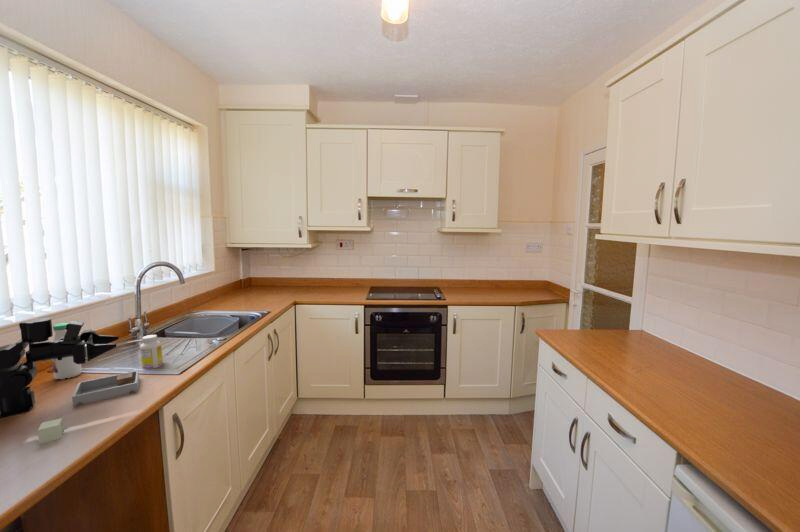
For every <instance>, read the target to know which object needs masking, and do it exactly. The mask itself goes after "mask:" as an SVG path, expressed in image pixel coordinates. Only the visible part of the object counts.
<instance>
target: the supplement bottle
mask: <svg viewBox="0 0 800 532" xmlns="http://www.w3.org/2000/svg"><path fill="white" fill-rule="evenodd" d="M141 341H142V343H141V344H140V348H139V349H140V358H141V368H142V369H144V370H152V369H156V368H159V367H161V366H162V365H163V364H164V360H163V351H162V343H161V342H160V341H159V340H158V335H157V334H147V335H145V336H142V340H141Z"/></svg>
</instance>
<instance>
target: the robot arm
mask: <svg viewBox="0 0 800 532" xmlns="http://www.w3.org/2000/svg"><path fill="white" fill-rule="evenodd" d="M66 323H67V326H66V328H65V329H66V330H67V331H66V334H65V336H64V337H62V338H60V339H59V340H57V341H53V340H52V341H49V338H51V337H54V335H53V332H54V331H53V323H52V317H39V318H34V319H30V320H25V321H24V320H23V321H21V322H20V323H18V324H19V325H18V326H19V330H20V335H21V338H20V339H19V340H18V341H17V342H16V343H10V344H6V345H2V346H0V418H5V417H8V416H9V417H10V416H14V415H18V414H22V413H27V412H30V410H32V408H33V407H34V405H35V404H36V399H35V391H34V390H31V389H32V388H31V386H29V385H30V384H31V383H32V382H33V380H34V379H35V377H36V376H37V374H38V369H37V367H36V366H37V363H38V362H44V361H50V360H51V359H58V360H62V359H63V358H65V357H72V356H73V362H74V363H76V364H81V365H83V364H86V363H87V362H89V361H92V360H94V359H95V358H97V357H99V356H101V355H103V354H105V353H107V352H110V351H111V350H113V349H115V348H117V347H118V346H117V343H113V342H115V341H117V340H119V336H118V335H107V334H99V333H98V332H96V331H95V330H93V329H85V330H83V331H82V332H81V330H82V327H84V324H85V322H83V321H79V320H71V321H70V322H66ZM80 332H81V334H80ZM27 347H28V350H27V351H26V348H27ZM24 357H25V361H24V362H23V361H21V360H22V359H23V358H24ZM51 361H52V360H51Z"/></svg>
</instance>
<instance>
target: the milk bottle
mask: <svg viewBox="0 0 800 532" xmlns="http://www.w3.org/2000/svg"><path fill="white" fill-rule="evenodd" d="M67 323H68V322H62V323H57V324H54V325H52V331H53V332H54V335H53V339H52V341H57V340H59V339H60V338H62V337H64V336H65V334H66V331H67V330H66V329H65V328H66V326H67ZM51 366H52V373H53V378H54V380H57V379H61V380H66V379H65V378H68V379H71V377H72V378H74V377H77V376H79V375H81V374H82V372H83V369H82V368H83V367H82V364H76V363H74V362H73V356H72V357H65V358H63V359H62V360H58V359H51Z"/></svg>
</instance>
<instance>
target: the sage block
mask: <svg viewBox="0 0 800 532" xmlns="http://www.w3.org/2000/svg"><path fill="white" fill-rule="evenodd" d="M63 432H65V426H64V421H63V417H61V418H56V419H53V420H47V421H44V422H41V424H40V425H39V427H38V429H37V434H38V441H39V445H41V444H45V443H49V442H53V441H56V440H55V439H57V440H59V439H58V438H61V439H62V438H63V435H64V433H63ZM62 434H63V435H62ZM52 440H53V441H52Z"/></svg>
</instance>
